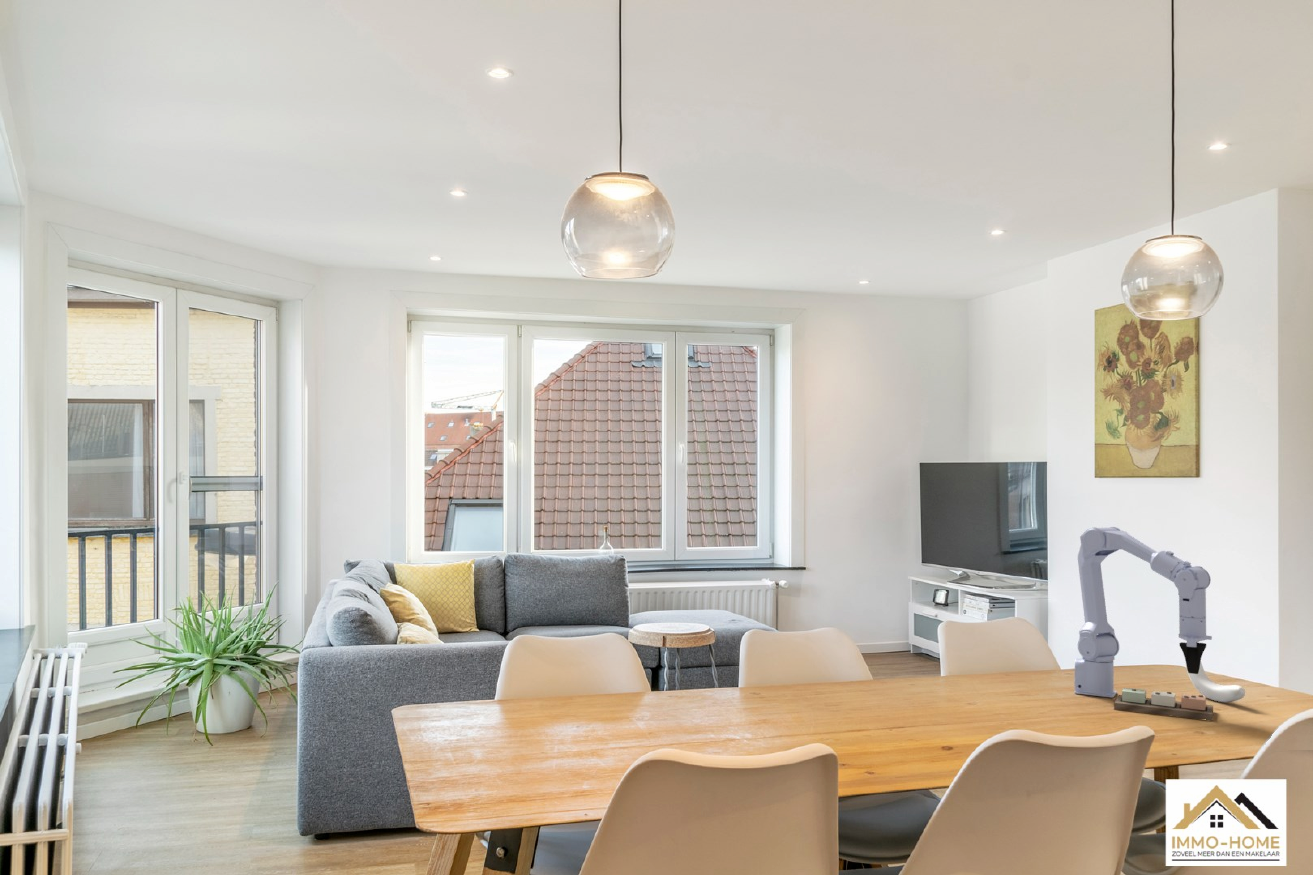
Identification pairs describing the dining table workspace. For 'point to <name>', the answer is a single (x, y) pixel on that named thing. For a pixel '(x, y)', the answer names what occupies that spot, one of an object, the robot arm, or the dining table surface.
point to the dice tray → (1164, 709)
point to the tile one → (1134, 695)
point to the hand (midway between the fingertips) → (1193, 673)
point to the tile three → (1193, 702)
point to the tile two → (1163, 698)
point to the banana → (1215, 688)
